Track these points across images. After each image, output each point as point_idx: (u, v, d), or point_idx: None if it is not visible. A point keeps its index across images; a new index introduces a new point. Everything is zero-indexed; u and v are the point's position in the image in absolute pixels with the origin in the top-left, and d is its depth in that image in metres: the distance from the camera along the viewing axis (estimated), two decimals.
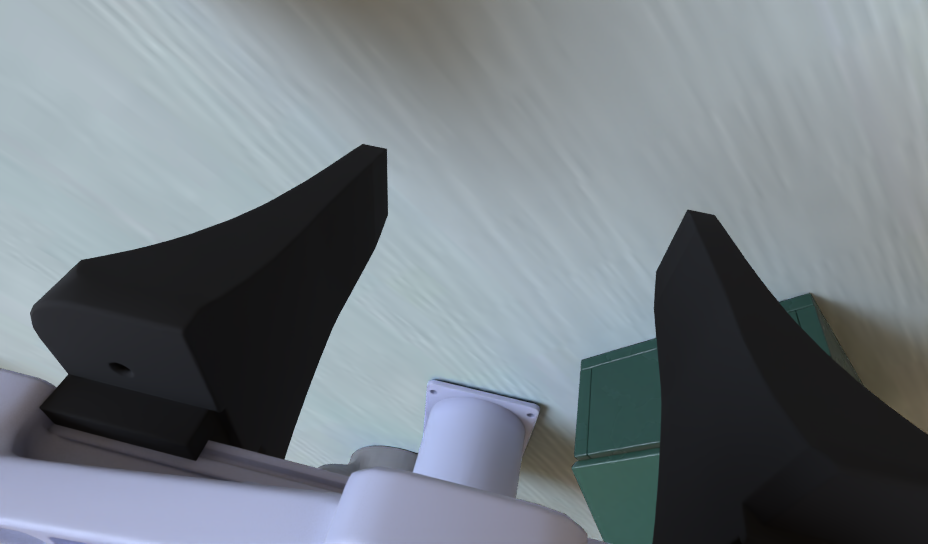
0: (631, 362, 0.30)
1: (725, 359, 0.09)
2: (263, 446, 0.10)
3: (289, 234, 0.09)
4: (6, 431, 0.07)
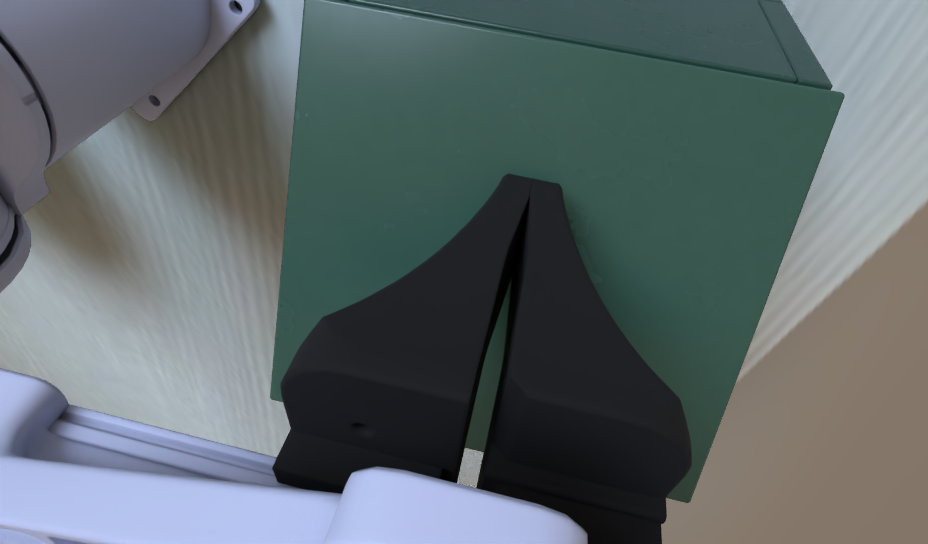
0: None
1: (517, 312, 0.09)
2: None
3: (487, 277, 0.09)
4: (6, 431, 0.07)
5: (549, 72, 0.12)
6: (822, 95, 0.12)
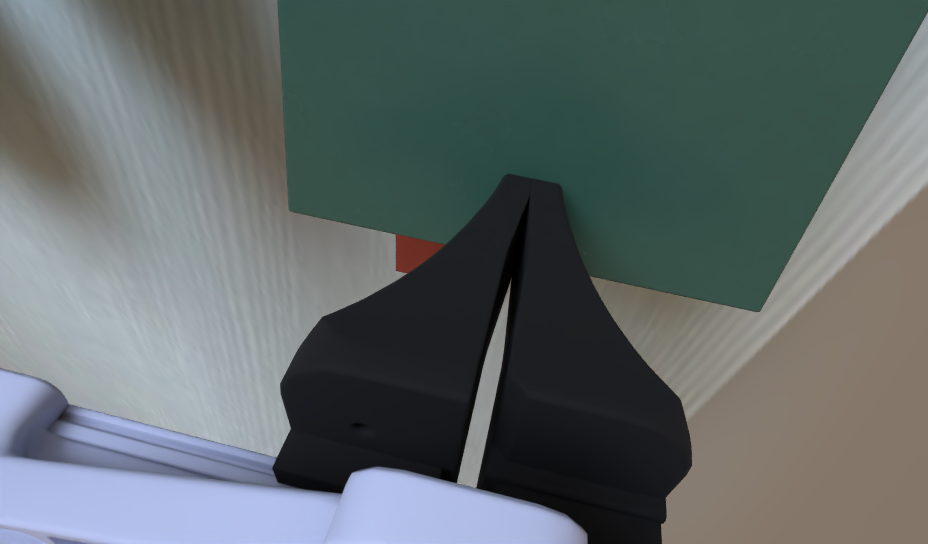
0: None
1: (517, 312, 0.09)
2: None
3: (488, 278, 0.09)
4: (5, 431, 0.07)
5: None
6: None
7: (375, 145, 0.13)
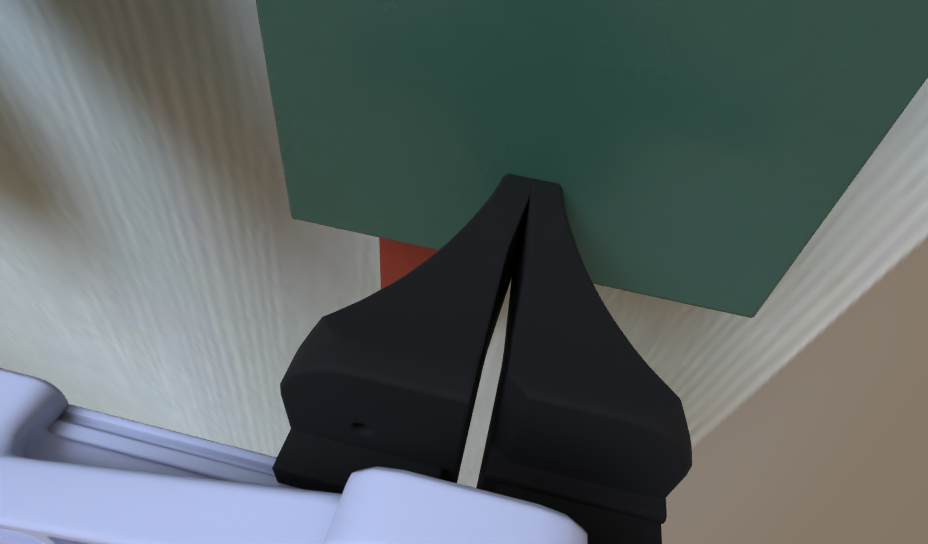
0: None
1: (517, 312, 0.09)
2: None
3: (487, 278, 0.09)
4: (6, 431, 0.07)
5: None
6: None
7: (370, 162, 0.13)
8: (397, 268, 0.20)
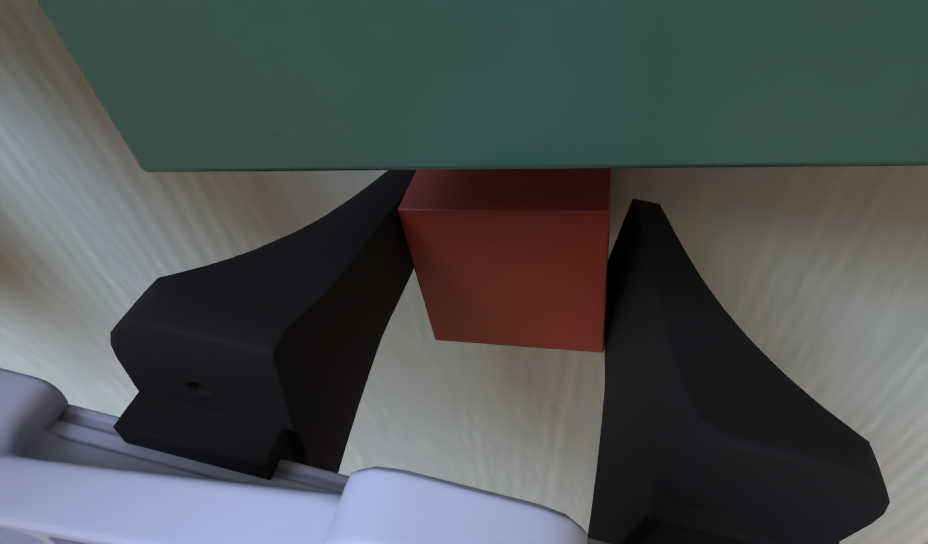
0: None
1: (651, 342, 0.09)
2: (323, 462, 0.09)
3: (353, 248, 0.09)
4: (6, 431, 0.07)
5: None
6: None
7: None
8: (446, 271, 0.11)
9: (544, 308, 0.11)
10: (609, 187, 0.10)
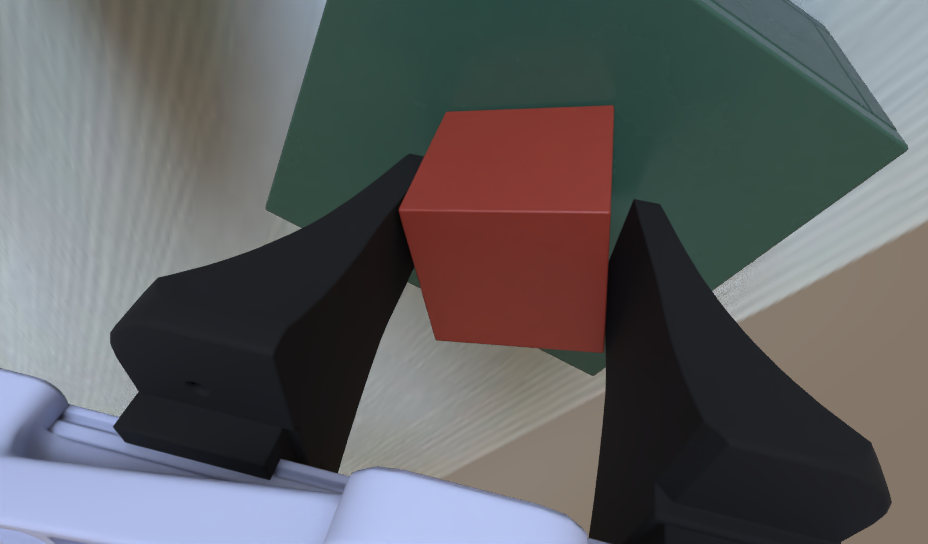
0: None
1: (652, 343, 0.09)
2: (323, 461, 0.09)
3: (352, 248, 0.09)
4: (6, 431, 0.07)
5: (648, 15, 0.11)
6: (889, 142, 0.12)
7: None
8: (447, 272, 0.11)
9: (544, 309, 0.11)
10: (610, 188, 0.10)
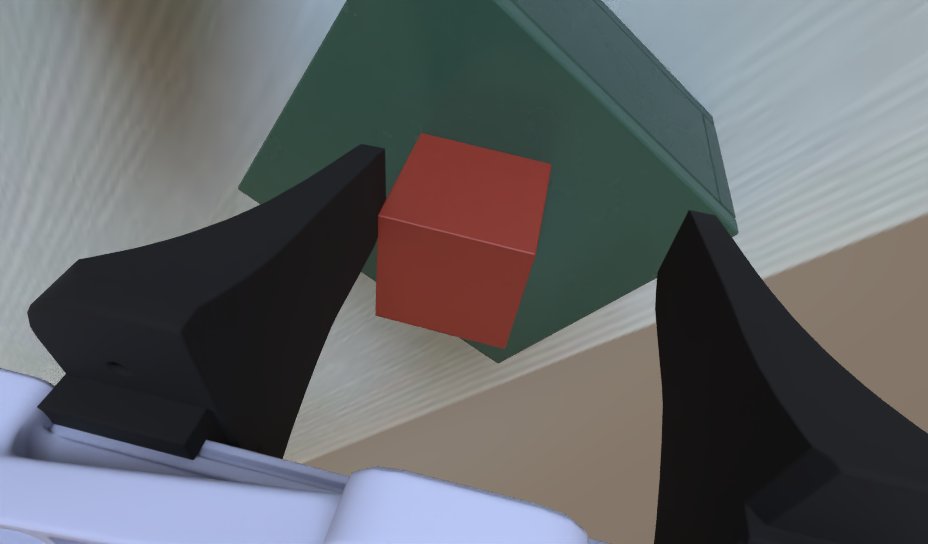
0: None
1: (727, 359, 0.09)
2: (261, 445, 0.10)
3: (287, 234, 0.09)
4: (6, 431, 0.07)
5: (570, 108, 0.14)
6: (725, 227, 0.16)
7: None
8: (402, 267, 0.14)
9: (470, 309, 0.15)
10: (538, 235, 0.13)
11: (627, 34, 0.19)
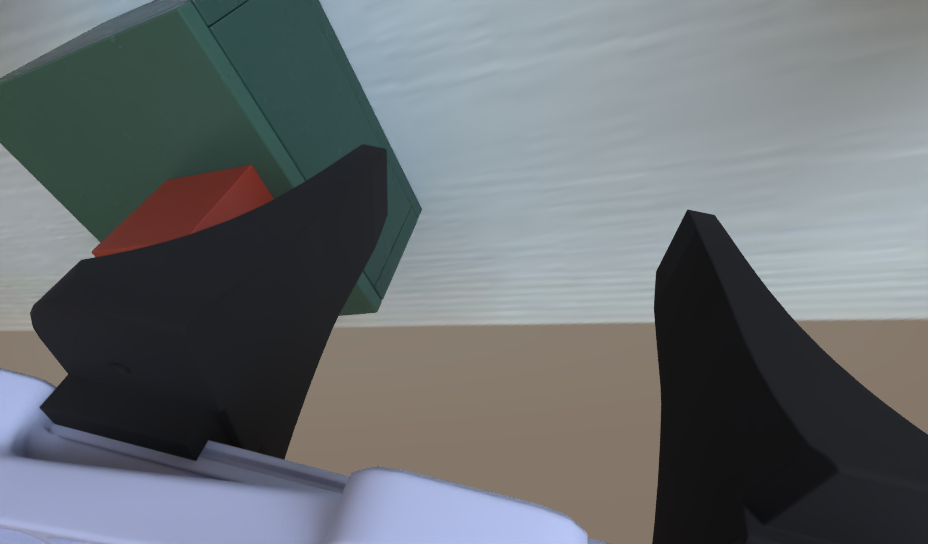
0: (322, 43, 0.21)
1: (725, 359, 0.09)
2: (263, 446, 0.10)
3: (289, 234, 0.09)
4: (6, 431, 0.07)
5: (279, 191, 0.19)
6: (369, 305, 0.22)
7: (51, 145, 0.20)
8: None
9: None
10: None
11: (374, 130, 0.24)
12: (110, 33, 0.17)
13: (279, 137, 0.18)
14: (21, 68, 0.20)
